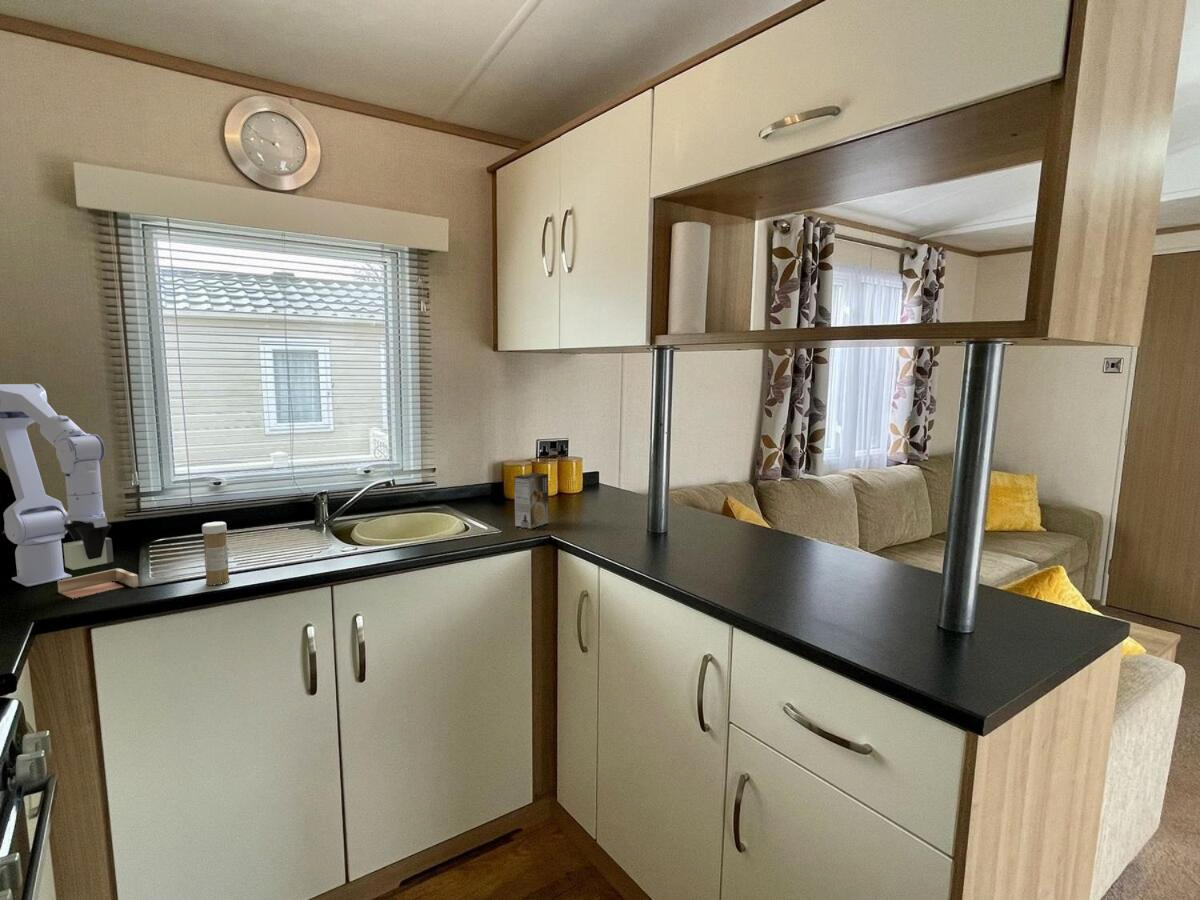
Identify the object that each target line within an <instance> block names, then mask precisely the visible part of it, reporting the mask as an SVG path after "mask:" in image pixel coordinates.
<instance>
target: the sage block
mask: <svg viewBox="0 0 1200 900" xmlns="http://www.w3.org/2000/svg"><path fill="white" fill-rule="evenodd" d="M62 546H63V547H62V548H63V556H64V558H63V559H64V567H65V568H66V569H67V568H68V569H70V570H72V571H75V570H79V569H85V568H88V567H89V568H91V567H95V566H98V565H104V564H109V563H113V562H114V551H113V549H114V548H113V540H112V538H111V537H107V536H106V538H105V541H104V546H103V551H102V556H101V557H100V558H95V559H88V557H87V555H86V552H85V548H84V544H83V541H82V540H81V541H75V542H74V541H71V542H65V543H62Z"/></svg>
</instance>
